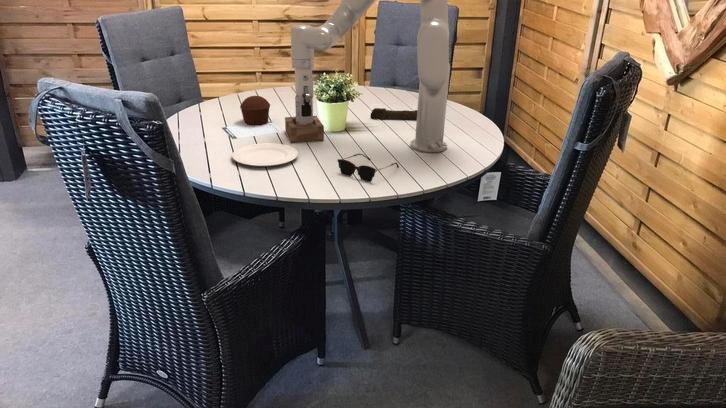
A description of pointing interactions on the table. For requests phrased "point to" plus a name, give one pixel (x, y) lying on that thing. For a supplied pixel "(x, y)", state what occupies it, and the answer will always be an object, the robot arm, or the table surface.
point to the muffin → (255, 111)
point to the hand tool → (392, 114)
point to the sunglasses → (358, 169)
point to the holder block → (304, 131)
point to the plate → (264, 155)
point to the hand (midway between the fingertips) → (303, 112)
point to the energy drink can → (299, 118)
